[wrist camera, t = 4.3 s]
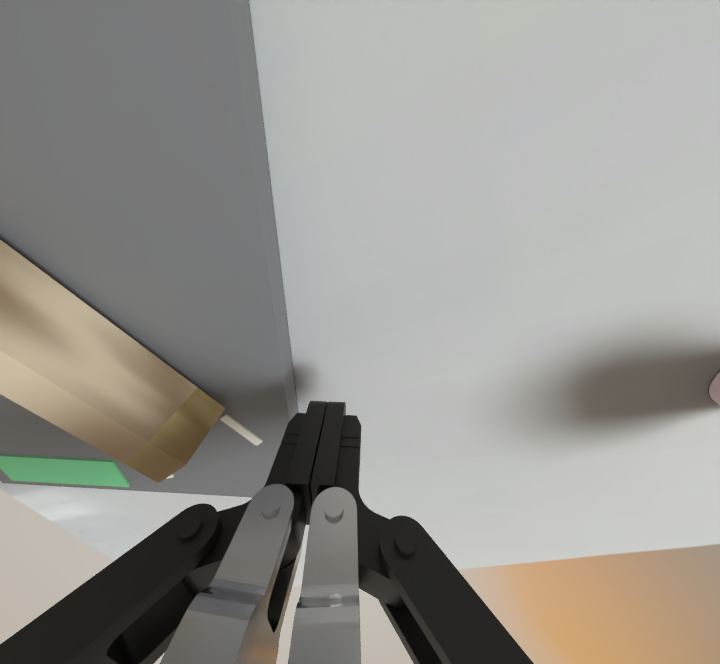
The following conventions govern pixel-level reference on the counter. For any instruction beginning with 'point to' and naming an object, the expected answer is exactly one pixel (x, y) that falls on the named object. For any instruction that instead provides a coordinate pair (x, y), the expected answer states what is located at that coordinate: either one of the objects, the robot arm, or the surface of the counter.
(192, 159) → the dial plate
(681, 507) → the counter surface
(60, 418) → the dial lever
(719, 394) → the smoothie
